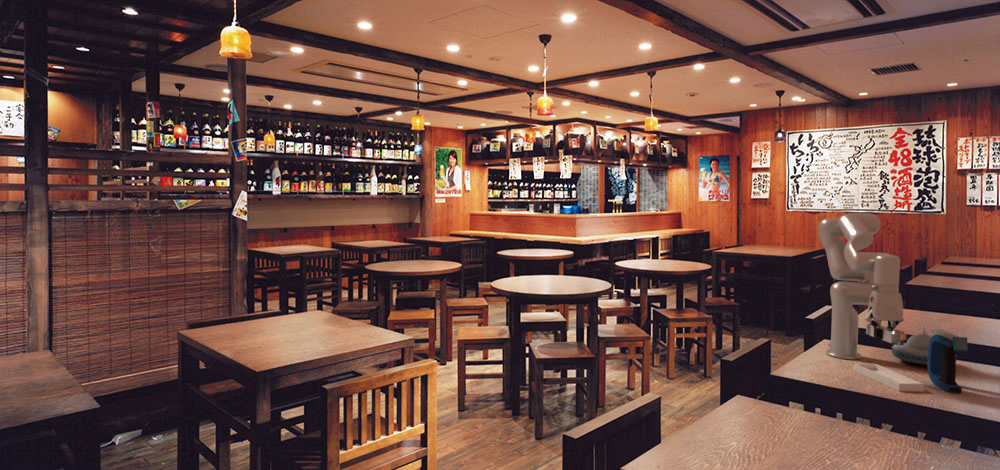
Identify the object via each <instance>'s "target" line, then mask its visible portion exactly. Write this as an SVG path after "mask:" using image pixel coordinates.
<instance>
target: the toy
mask: <svg viewBox="0 0 1000 470" xmlns="http://www.w3.org/2000/svg"><path fill="white" fill-rule="evenodd" d="M925 328H926V327H925V326H924V328H923V329H924V330H923V332H922V333H917V334H914V335H911V336H910V337H908V338H907V339H906V340H907V341H906V342H904V345H895V344H892V346H891V349H892V350H891V354H892V356H894V357H895V358H897V359H899V360H902V361H906V362H909V363H915V364H919V365H924V366H925V365H926V366H927V362H928V347H929V342H930V339H931V337H932V335H929V334H927V333H926V329H925ZM957 357H958V355H957V354H956V357H955V363H956V362H957V359H956V358H957Z"/></svg>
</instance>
